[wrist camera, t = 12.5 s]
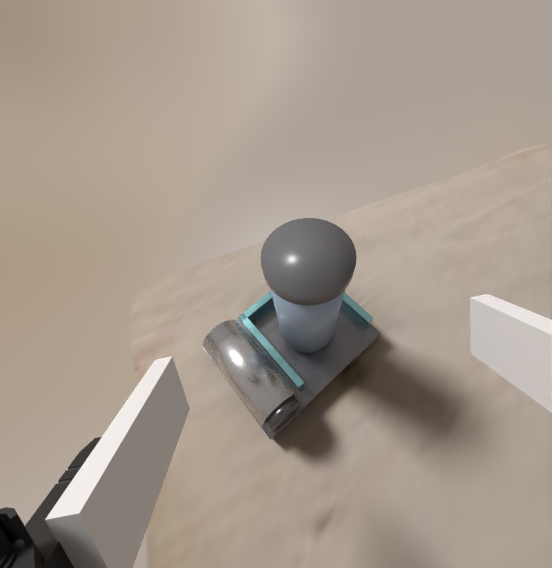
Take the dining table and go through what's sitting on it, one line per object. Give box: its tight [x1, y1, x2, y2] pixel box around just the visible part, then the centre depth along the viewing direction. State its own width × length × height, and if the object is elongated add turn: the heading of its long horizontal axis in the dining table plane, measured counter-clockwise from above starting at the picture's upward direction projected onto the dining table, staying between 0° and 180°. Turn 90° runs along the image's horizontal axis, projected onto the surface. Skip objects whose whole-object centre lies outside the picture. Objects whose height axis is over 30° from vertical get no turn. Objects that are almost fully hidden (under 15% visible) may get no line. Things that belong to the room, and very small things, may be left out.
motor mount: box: [203, 291, 380, 439], centre depth 26 cm, size 13×10×5 cm
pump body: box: [261, 218, 356, 353], centre depth 22 cm, size 5×5×12 cm
